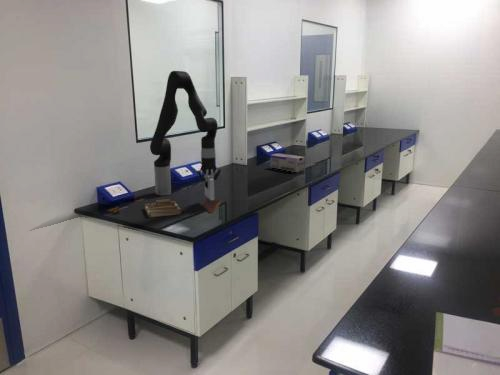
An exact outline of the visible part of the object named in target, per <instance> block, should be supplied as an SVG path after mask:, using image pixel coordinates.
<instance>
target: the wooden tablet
mask: <svg viewBox="0 0 500 375" xmlns="http://www.w3.org/2000/svg"><path fill="white" fill-rule="evenodd" d="M222 202H223V199H222V198H219V199H214V200H210V199H209V198H206V199H205V200H204V201H203V202H202V203H201V205H200V206H201V207H202V209H204V210H205V211H206V212H207V214H210V215H211V214H213V213H215V212H216V211H217V210H218V207H219V206H220V205H221V203H222Z"/></svg>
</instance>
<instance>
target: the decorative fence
mask: <svg viewBox="0 0 500 375" xmlns="http://www.w3.org/2000/svg"><path fill="white" fill-rule="evenodd" d="M139 201H140V202H141V201H146V199H145V198H140V199H138V200H136V202H139ZM119 208H120V206H117V207H114V208H110V209H108V210H106V212H108V213H112V214H119V215H120V210H119Z"/></svg>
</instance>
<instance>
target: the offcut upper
mask: <svg viewBox="0 0 500 375" xmlns="http://www.w3.org/2000/svg"><path fill="white" fill-rule="evenodd" d="M171 202H172V201H171V199H169V198H166V199H157V200H155V203H156V206H157V207H159V206H167V205H171Z"/></svg>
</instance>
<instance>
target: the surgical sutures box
mask: <svg viewBox="0 0 500 375" xmlns="http://www.w3.org/2000/svg"><path fill="white" fill-rule="evenodd" d="M269 157H270V159H269V164H270V165H269V168H270V167H273V168H278V169H283V170H287V171H286V172H288V171H291V172H290V173H294V172H298V173H300V172H299V171H302V172H304V171H303V170H305V169H306V156H299V155H296V154H295V155H294V154H287V153H280V152H278V153H273V154H270V156H269ZM283 170H282V171H283Z"/></svg>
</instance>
